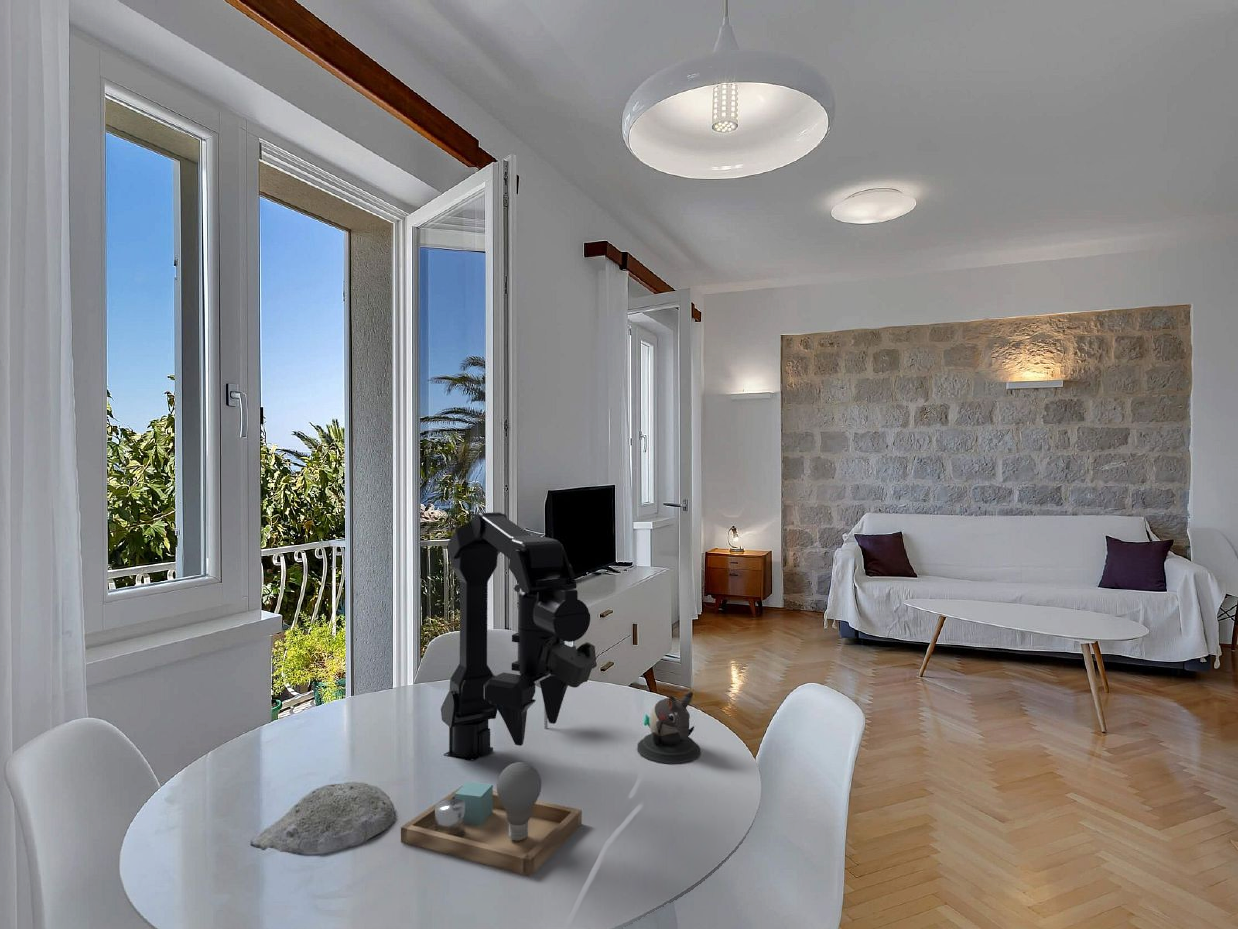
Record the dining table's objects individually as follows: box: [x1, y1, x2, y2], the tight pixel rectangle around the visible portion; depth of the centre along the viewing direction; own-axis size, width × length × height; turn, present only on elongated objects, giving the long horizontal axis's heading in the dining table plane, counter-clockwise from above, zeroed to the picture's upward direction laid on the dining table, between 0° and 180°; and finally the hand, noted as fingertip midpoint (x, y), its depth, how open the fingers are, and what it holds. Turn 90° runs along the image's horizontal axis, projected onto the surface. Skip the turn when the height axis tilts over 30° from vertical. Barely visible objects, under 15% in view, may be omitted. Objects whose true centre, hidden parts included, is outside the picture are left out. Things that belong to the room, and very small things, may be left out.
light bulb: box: [496, 761, 542, 841], centre depth 94 cm, size 6×6×10 cm
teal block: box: [455, 781, 494, 825], centre depth 100 cm, size 4×4×4 cm
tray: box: [400, 786, 583, 877], centre depth 95 cm, size 20×14×2 cm
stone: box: [249, 781, 398, 856], centre depth 98 cm, size 18×8×15 cm
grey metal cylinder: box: [435, 799, 465, 838], centre depth 95 cm, size 4×4×4 cm
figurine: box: [636, 691, 702, 765], centre depth 125 cm, size 11×12×12 cm
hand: (536, 733), depth 101 cm, fingers open, 9 cm apart
